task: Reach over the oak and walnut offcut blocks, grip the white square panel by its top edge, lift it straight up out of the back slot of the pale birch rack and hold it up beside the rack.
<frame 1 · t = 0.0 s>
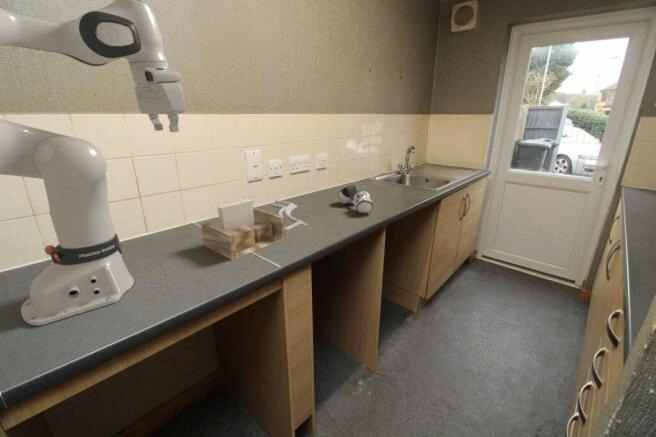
hand: (166, 131, 85), 39 cm above the countertop, tool pointing down, fingers open, 8 cm apart
white square panel: (239, 238, 109), point 1 cm above the countertop, touching offcut rack
walnut offcut: (262, 238, 109), point 1 cm above the countertop, touching offcut rack
oak offcut: (240, 247, 102), point 1 cm above the countertop, touching offcut rack
molding: (283, 218, 136), on the countertop
offcut rack: (246, 245, 107), on the countertop
patterned dumbbell: (354, 209, 147), on the countertop
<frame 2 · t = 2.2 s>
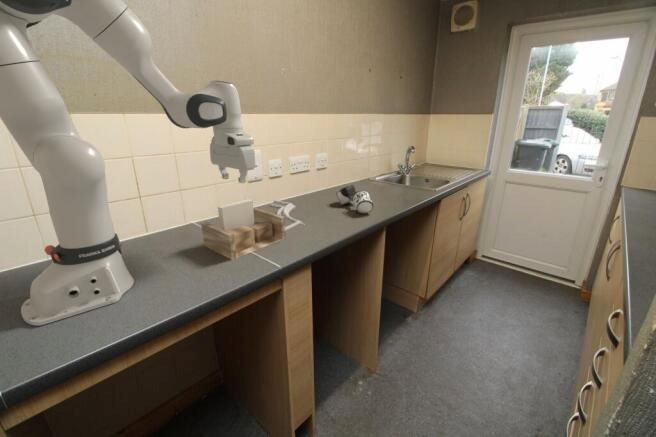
hand: (233, 180, 102), 22 cm above the countertop, tool pointing down, fingers open, 8 cm apart
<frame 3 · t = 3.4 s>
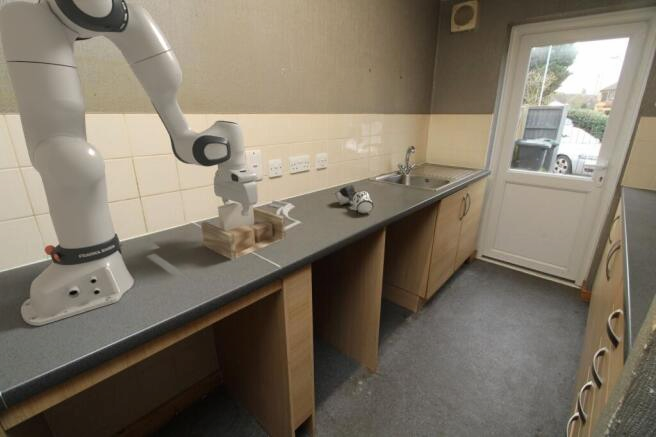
hand: (236, 212, 106), 11 cm above the countertop, tool pointing down, fingers open, 8 cm apart
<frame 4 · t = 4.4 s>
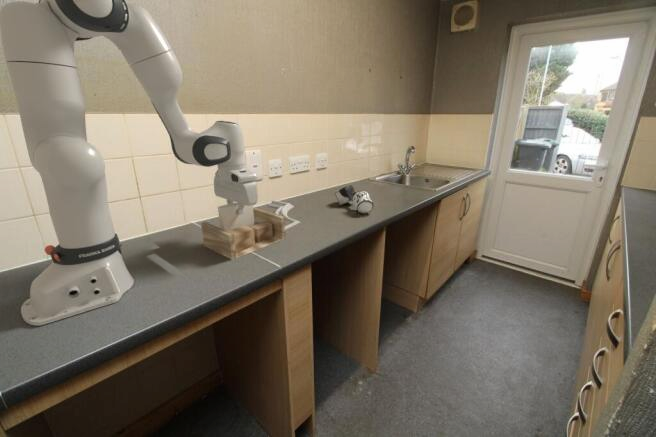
hand: (236, 212, 106), 11 cm above the countertop, tool pointing down, fingers closed on white square panel, 2 cm apart
white square panel: (239, 238, 109), point 1 cm above the countertop, touching gripper, offcut rack
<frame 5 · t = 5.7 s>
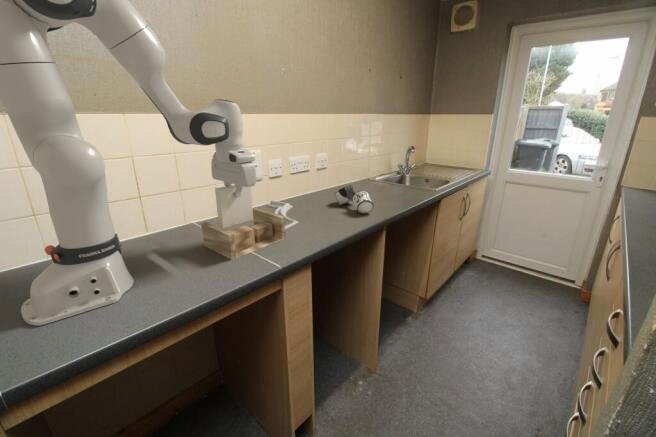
hand: (234, 195, 103), 17 cm above the countertop, tool pointing down, fingers closed on white square panel, 2 cm apart
white square panel: (236, 222, 107), point 8 cm above the countertop, touching gripper
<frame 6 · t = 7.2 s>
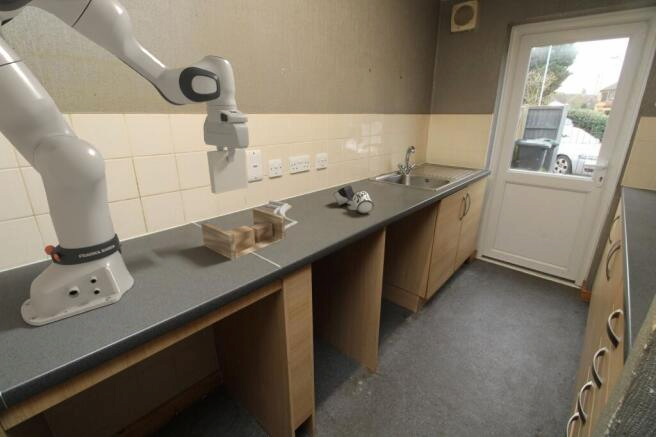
hand: (227, 160, 100), 29 cm above the countertop, tool pointing down, fingers closed on white square panel, 2 cm apart
white square panel: (230, 189, 103), point 19 cm above the countertop, touching gripper
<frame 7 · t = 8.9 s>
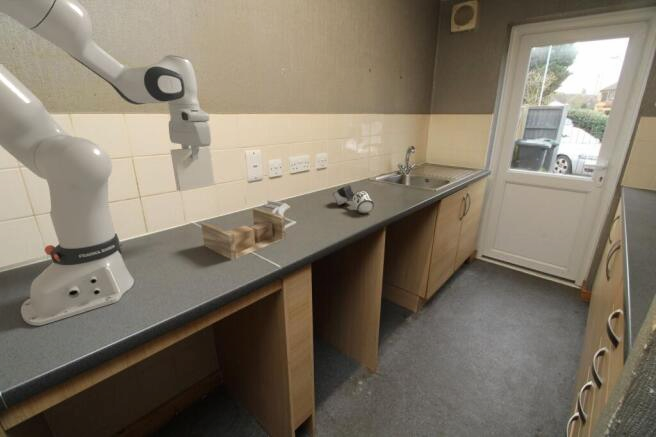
hand: (191, 158, 102), 29 cm above the countertop, tool pointing down, fingers closed on white square panel, 2 cm apart
white square panel: (196, 187, 105), point 19 cm above the countertop, touching gripper
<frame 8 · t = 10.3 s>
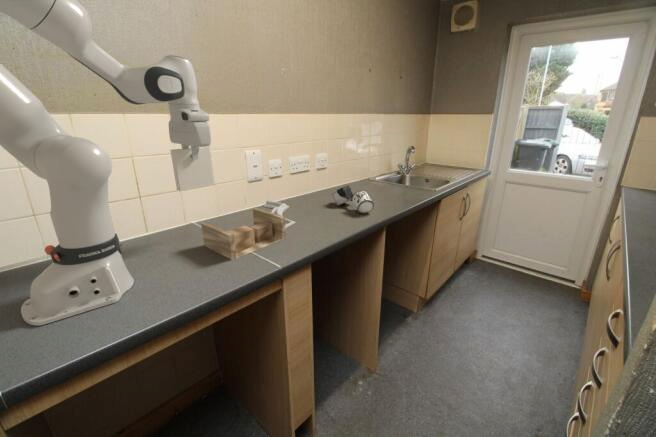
hand: (191, 158, 102), 29 cm above the countertop, tool pointing down, fingers closed on white square panel, 2 cm apart
white square panel: (196, 187, 105), point 19 cm above the countertop, touching gripper
at the end: the gripper is holding white square panel; white square panel point 19.5 cm above the countertop; oak offcut moved 0.0 cm from its start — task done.
